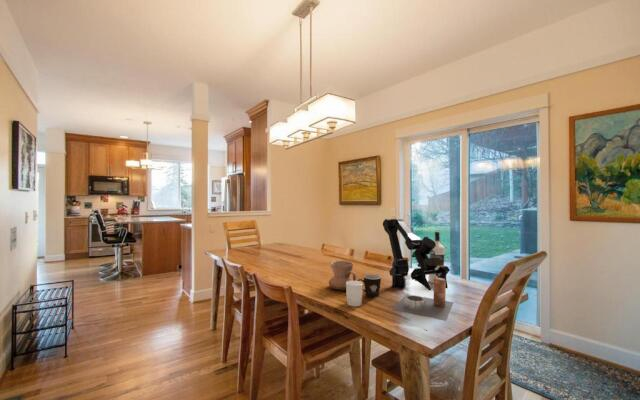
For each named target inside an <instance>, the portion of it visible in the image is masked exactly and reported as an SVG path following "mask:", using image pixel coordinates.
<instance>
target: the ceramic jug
mask: <svg viewBox="0 0 640 400" xmlns="http://www.w3.org/2000/svg"><path fill="white" fill-rule="evenodd" d="M353 266H354V263H353V262H352V261H350V260H334V261H331V263H330V268H331V271H332V272H333V275H334V276H332V277H331V278H330V279H329V280H328V285H329V287H330V288H331V289H333V290H336V291H346V282H347V281H357V274H356V272H355V271H354V270H353V269H354V267H353ZM351 274H352V277H351V276H350V275H351Z"/></svg>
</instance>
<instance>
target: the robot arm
mask: <svg viewBox="0 0 640 400" xmlns="http://www.w3.org/2000/svg"><path fill="white" fill-rule="evenodd" d="M382 227H383V229H384V231H385V233H386V234H387V236H388V239H389V243H390V247H391V248H390V249H391V253H392V258H393V260H392V263H391V265H392V267H391V269H390V270H389V276H391V277H392V279H391V280H392V281H391V285H390V286H391V287H392V288H395V289H396V288H397V289H404V288H405V287H406V286H407V281H406V280H407V279H406V277H407V276H408V274H409V270H410V266H409V263H408V260H407V259H405V258H404V257H403V254H402V253H403V252H402V249H401V244H400V240H399V236H398V231H399V233H400V234H401V236H402V238H403V239H404V240H405V241H404V242H405V243H404V244H405V246H406V247H407V250H409V251H412V255H411V257H412V258H414V259H415V260H416V262H417V263H418V264H417V268H414V269H413V270H412V271H411V273H410V278H411V280H414V281H415V282H418V283H419V284H420V285H422V286H423V287H425V288H426V289H427V290H428V291H431V290H432V288H431V285H430V284H429V283H430V282H429V280H427V277H426V276H427V275H428V276H429V275H430V274H436V276H438V278H443V279H445V280H446V289H448V281H447V275H448V273H449V272H450V271H451V270H450V268H449V266H447V265H444V266H440V267H439V268H438V269H437V270H435V268H436V267H437V265H439V264H440V265H441V263H443V259H442V258H441V256H437V257H436V258H430V256H429V255H430V253H431V251H432V250H433V249H434V248H435V246H436V244H435V240H433V239H431V238H429V236H424V237H423V238H421V237H419V236H418V235H417V234H414V233H413V232H412V231H411V229H410V228H409V227H408V226H407V224H406V223H405V221H404V219H402V218H401V217H400V218H385V219H384V220H383V222H382ZM413 250H414V251H413Z"/></svg>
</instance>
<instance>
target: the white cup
mask: <svg viewBox="0 0 640 400" xmlns="http://www.w3.org/2000/svg"><path fill="white" fill-rule="evenodd" d="M363 287H364V282H363V281H361V280H360V281H357V280H355V281H347V282H346V290H345V291H346V293H345V294H346V305H347V306H349V307H350V306H351V307H354V308H355V307H356V308H357V307H361V306H362V301H363V291H364V290H363V289H364V288H363Z"/></svg>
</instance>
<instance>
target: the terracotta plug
mask: <svg viewBox="0 0 640 400" xmlns="http://www.w3.org/2000/svg"><path fill="white" fill-rule="evenodd" d="M446 280H447V279H446ZM446 280H445V279H443V278H434V284H433V299H434V306H435V307H439V308H444V307H445V301H446V289H447V288H446Z"/></svg>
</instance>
